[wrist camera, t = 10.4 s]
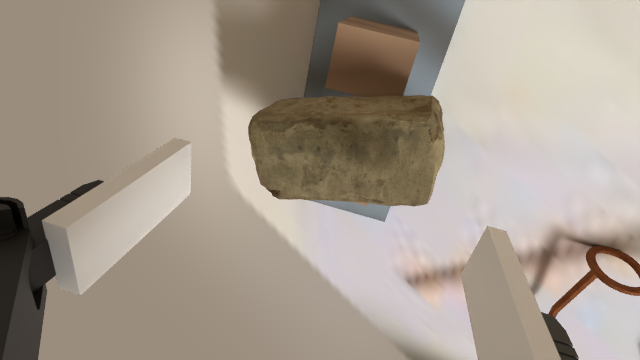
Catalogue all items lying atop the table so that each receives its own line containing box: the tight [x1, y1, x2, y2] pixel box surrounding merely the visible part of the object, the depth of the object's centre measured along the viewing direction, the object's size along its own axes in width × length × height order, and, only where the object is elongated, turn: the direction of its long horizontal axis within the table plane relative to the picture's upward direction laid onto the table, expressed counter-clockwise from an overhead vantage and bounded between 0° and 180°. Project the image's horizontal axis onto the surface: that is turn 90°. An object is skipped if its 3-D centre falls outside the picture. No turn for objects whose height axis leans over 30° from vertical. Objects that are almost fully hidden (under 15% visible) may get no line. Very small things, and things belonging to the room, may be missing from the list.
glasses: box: [549, 246, 640, 317], centre depth 33 cm, size 13×13×5 cm
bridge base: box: [304, 0, 465, 222], centre depth 27 cm, size 22×10×7 cm, turn 169°
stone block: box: [248, 95, 445, 206], centre depth 22 cm, size 6×12×5 cm, turn 95°
